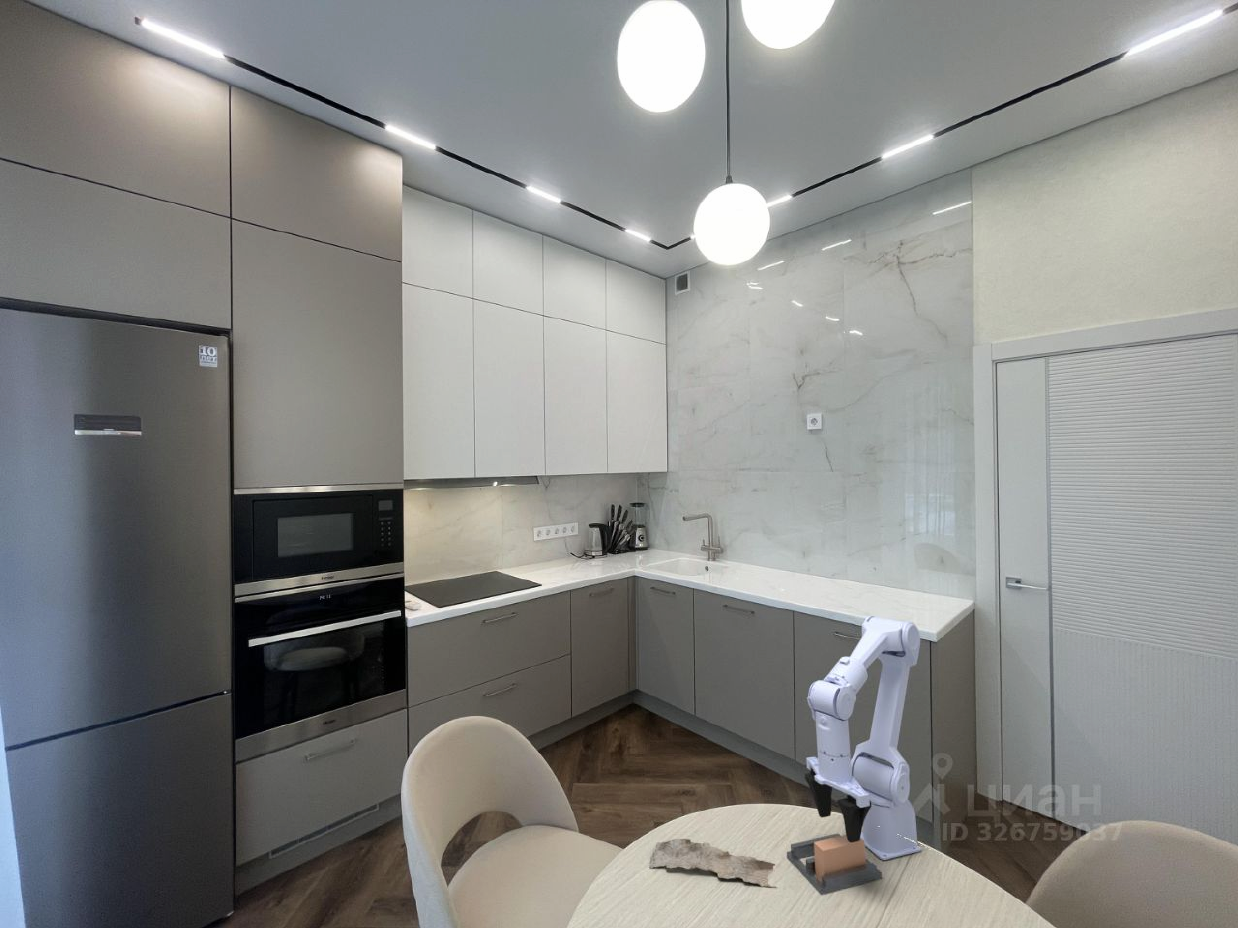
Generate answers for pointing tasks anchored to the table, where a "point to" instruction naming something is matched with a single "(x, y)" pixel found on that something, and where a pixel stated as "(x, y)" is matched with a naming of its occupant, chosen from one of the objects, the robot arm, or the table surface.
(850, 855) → the terracotta strip
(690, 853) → the stone fragment
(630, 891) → the table surface
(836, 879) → the drying rack
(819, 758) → the robot arm
